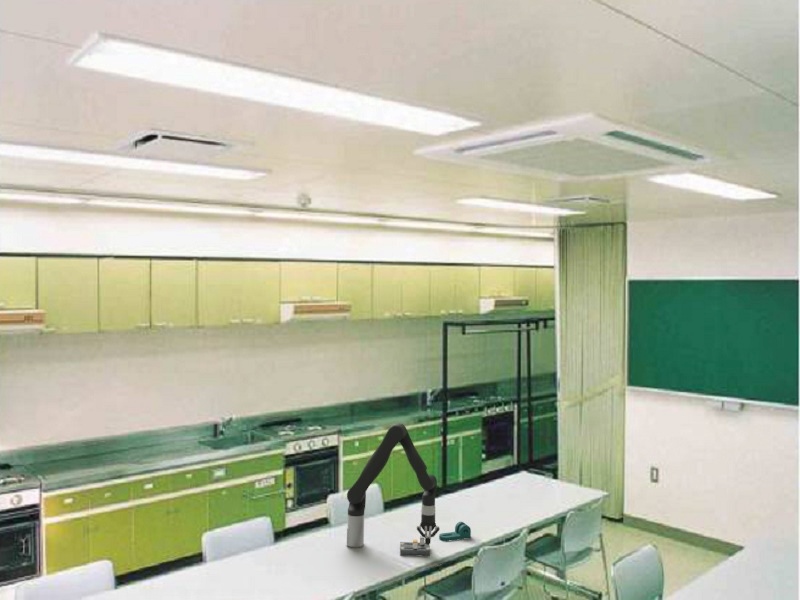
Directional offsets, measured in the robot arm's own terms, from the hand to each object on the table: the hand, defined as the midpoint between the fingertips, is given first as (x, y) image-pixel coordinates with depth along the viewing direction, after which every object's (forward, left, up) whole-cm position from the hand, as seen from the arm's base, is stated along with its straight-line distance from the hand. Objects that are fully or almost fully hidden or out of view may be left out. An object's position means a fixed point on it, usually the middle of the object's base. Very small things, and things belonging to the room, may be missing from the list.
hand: (427, 544), depth 373 cm
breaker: (-3, +6, -2) cm, 7 cm away
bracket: (+16, +25, -6) cm, 30 cm away
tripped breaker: (-7, 0, -2) cm, 7 cm away
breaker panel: (-7, +3, -5) cm, 9 cm away
